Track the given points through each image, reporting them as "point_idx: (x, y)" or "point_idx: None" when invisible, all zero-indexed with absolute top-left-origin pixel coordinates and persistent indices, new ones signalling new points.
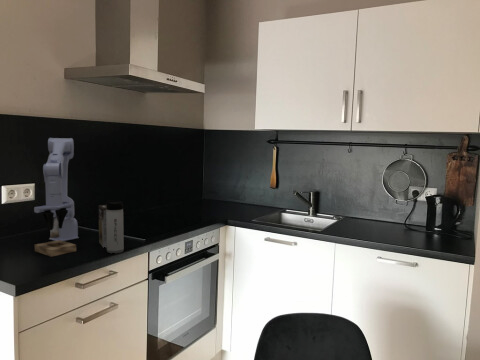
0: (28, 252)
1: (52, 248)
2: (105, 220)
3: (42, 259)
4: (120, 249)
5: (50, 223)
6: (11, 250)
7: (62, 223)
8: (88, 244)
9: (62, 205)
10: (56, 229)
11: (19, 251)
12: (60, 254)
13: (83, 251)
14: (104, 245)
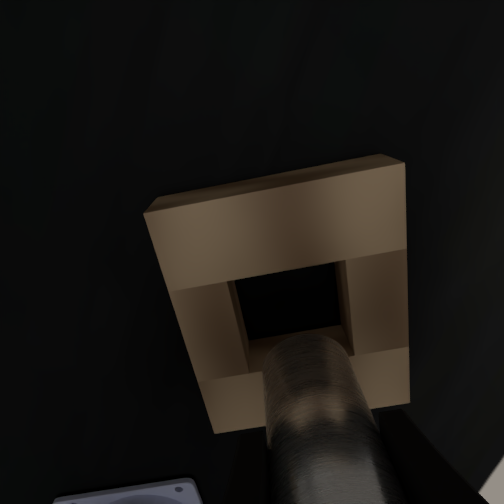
0: (431, 363)
1: (369, 211)
2: None
3: (468, 114)
4: None
5: (478, 498)
6: (472, 451)
7: (232, 498)
8: (23, 331)
9: None
10: (325, 408)
11: (455, 411)
12: (299, 169)
13: (106, 145)
14: None
